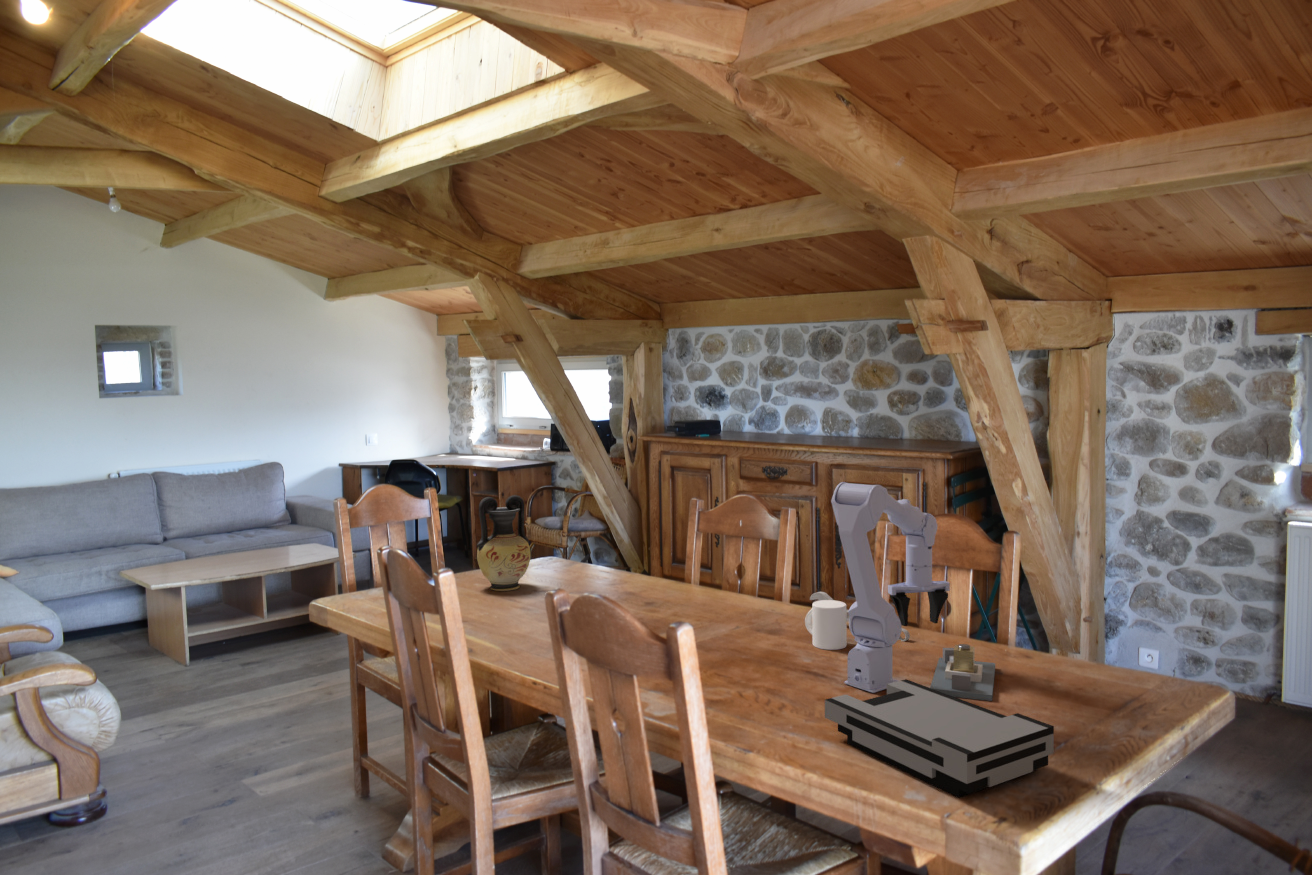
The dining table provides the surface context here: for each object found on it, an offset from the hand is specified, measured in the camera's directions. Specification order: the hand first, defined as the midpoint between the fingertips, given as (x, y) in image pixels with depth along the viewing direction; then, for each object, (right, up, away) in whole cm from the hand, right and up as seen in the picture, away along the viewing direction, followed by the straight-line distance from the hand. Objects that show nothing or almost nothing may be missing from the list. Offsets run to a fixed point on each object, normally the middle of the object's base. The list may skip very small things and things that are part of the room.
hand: (918, 623), depth 200 cm
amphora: (-109, -7, +85) cm, 138 cm away
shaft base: (+6, -10, -11) cm, 16 cm away
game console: (-12, -13, -48) cm, 51 cm away
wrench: (-7, -8, +30) cm, 31 cm away
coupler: (+6, -9, -12) cm, 16 cm away
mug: (-18, -9, +18) cm, 27 cm away
